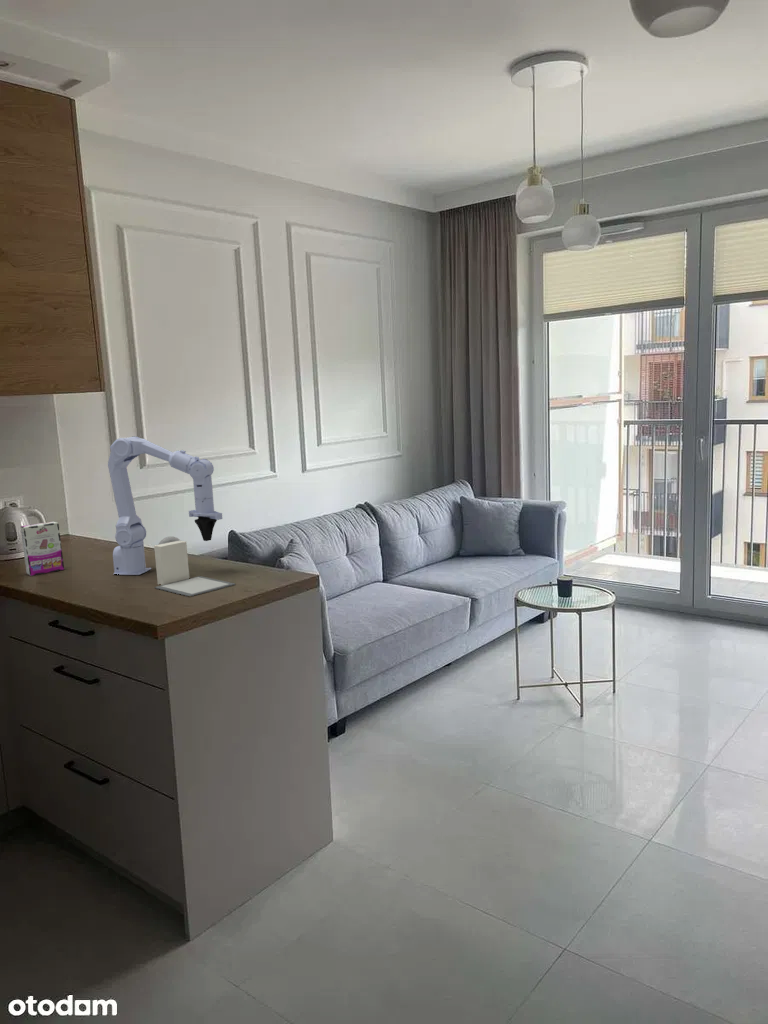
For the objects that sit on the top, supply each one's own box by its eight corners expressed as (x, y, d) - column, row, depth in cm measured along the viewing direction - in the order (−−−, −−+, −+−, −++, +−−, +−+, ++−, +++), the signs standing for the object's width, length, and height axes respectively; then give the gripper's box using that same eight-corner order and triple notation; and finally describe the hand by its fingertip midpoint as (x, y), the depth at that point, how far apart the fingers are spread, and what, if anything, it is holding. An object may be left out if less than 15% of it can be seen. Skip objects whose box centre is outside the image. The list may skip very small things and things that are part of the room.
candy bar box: (60, 567, 261) (54, 520, 258) (64, 570, 257) (59, 522, 254) (25, 573, 254) (19, 525, 251) (29, 576, 250) (23, 527, 247)
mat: (154, 588, 226) (154, 586, 226) (200, 577, 238) (199, 575, 238) (189, 597, 214) (189, 595, 214) (235, 584, 226) (235, 583, 226)
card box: (157, 584, 231) (153, 545, 229) (183, 577, 238) (179, 540, 236) (164, 585, 229) (160, 546, 227) (189, 579, 236) (186, 541, 234)
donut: (160, 569, 252) (158, 539, 250) (155, 567, 254) (152, 538, 253) (187, 563, 259) (184, 534, 257) (182, 562, 261) (179, 533, 260)
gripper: (179, 498, 242) (183, 540, 244) (207, 501, 233) (211, 544, 235) (197, 495, 247) (201, 536, 249) (226, 498, 238) (229, 540, 240)
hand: (207, 540), depth 242 cm, fingers closed
